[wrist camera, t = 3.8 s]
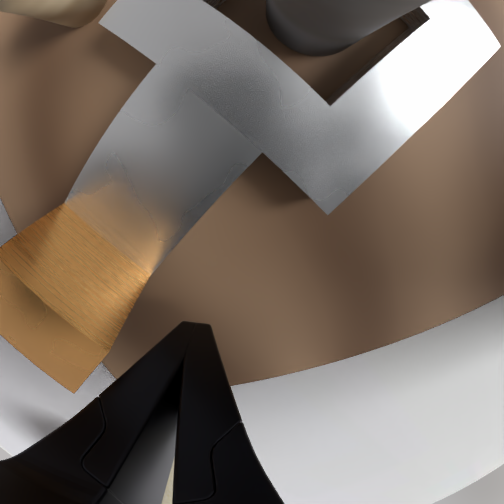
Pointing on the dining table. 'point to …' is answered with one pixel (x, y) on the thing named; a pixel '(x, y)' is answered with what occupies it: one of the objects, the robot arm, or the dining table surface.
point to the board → (274, 190)
